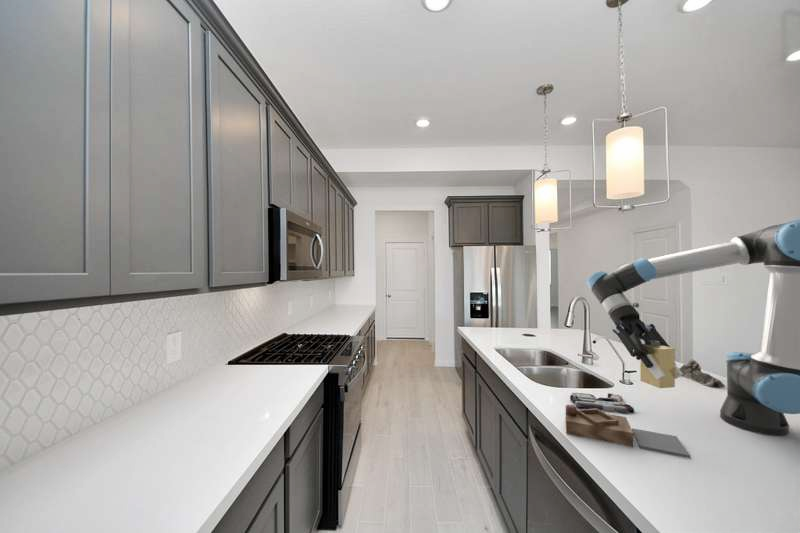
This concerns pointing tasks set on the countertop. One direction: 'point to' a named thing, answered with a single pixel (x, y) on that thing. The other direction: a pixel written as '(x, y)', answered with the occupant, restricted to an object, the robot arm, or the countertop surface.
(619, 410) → the toy gun
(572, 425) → the body
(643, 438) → the mat
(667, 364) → the labelled wooden block
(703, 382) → the rock
